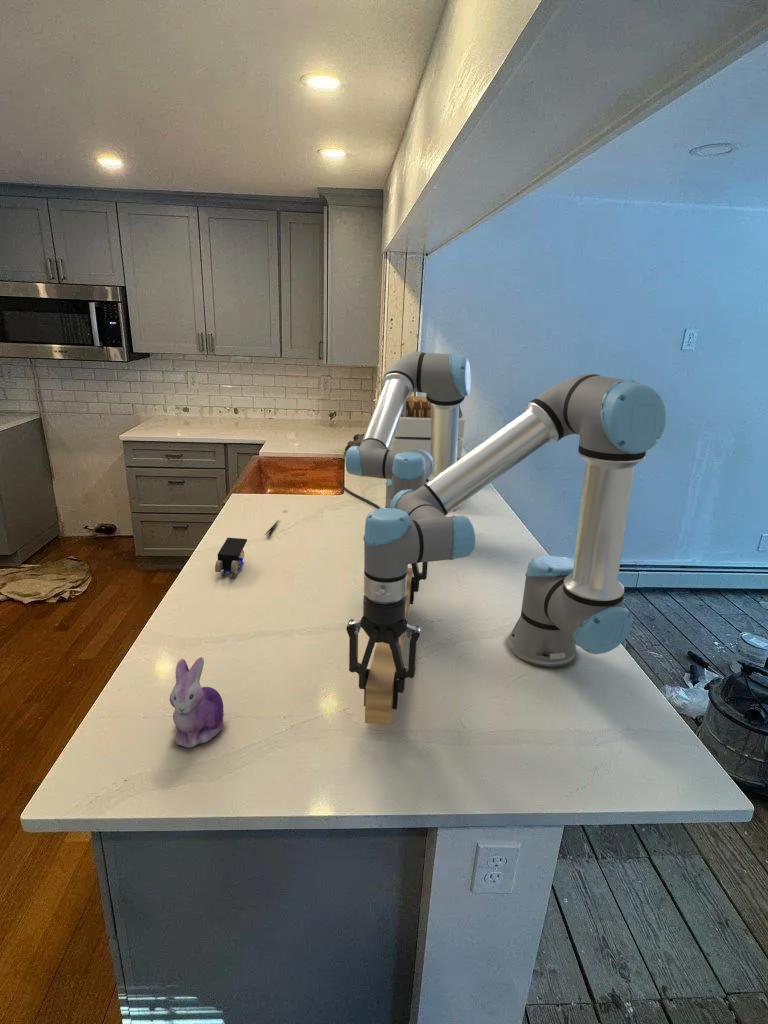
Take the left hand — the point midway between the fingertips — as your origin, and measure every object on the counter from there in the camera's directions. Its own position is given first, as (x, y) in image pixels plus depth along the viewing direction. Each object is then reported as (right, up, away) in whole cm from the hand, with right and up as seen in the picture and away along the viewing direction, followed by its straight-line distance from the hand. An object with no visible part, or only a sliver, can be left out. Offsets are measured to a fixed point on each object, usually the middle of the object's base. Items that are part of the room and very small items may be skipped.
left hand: (401, 600), depth 146 cm
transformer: (+13, +42, +129) cm, 136 cm away
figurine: (-38, -18, -42) cm, 59 cm away
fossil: (-20, +55, +162) cm, 172 cm away
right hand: (-5, -14, -38) cm, 41 cm away
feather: (-43, +18, +57) cm, 74 cm away
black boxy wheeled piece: (-49, +6, +21) cm, 54 cm away
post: (-3, -7, -19) cm, 20 cm away
